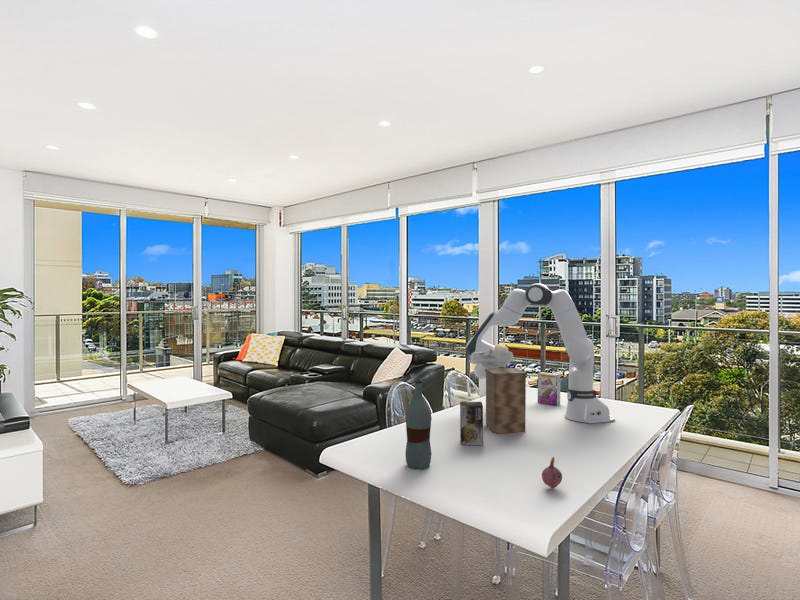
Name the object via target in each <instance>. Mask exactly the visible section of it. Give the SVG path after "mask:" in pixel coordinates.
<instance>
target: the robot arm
mask: <svg viewBox="0 0 800 600" xmlns="http://www.w3.org/2000/svg"><path fill="white" fill-rule="evenodd" d="M530 305H533V306H536V307H542V306H548V307H549V308H550V311H551V312H552V315H553V317H554V320H555V322H556V325H557V327H558V330H559V332H560V336H561V339H562V341H563V344H564V347H565V350H566V353H567V356H568V357H569V366H568V378H567V379H568V387H567V392H566V393H567V394H566V395H567V396H566V397H567V405H566V410H565V414H564V418H565V419H567V420H569V421H570V420H571V421H574V422H581V423H585V424H597V423H606V422H607V423H609V422H615V421H616V419H615V417H614V416H612V415H611V414H610V409H609V407H608V405H607V404H605V403H604V402H603V401H602V400H600V399H599V398H598V397H599V396H601V394H602V392H600V391H599V390H595V389H594V364H595V363H594V362H595V344H594V343H593V341H592V340H591V338H589V337H588V334H587V332H586V329H585V327H584V323H583V320H582V318H581V316H580V313H579V311H578V310H577V307H576V305H575V303H574V301H573V299H572V297H571V296H570V294H569V293H568V291H567V290H564V289H557V290H551V289H550V287H548V286H547V285H545V284H543V283H532V284H531V285H529V286H528V287H527V288H526V290H524V289H520V288H514V289H512V290H511V291H510V293H509V294H508V295H507V297H506V298H505V300H504V302H503V304H502V305H501V307H500V308H499V309H498V310H496V311H492V312H491V313H490V314H489V315H488V316H487V317H486V319H485V320H484V322H483V323H482V324H481V325H480V327H479V328H478V329H477V331H476V332H475V334H474V335H473V336H472V337H471V338H470V339H469V340H468V342H467V343H466V345H465V351H466V353H467V355H468V356H470V358H469V359H468V363H471V364H473V365H475V366H474V369H473V374H474V376H475V377H477V378H478V379H481V380H484V379H485V380H486V371H485V369H491V368H507V366H508V365H509V364H510V363H511V362H512V361H513V360H514V354H513V352H512V351H509V352H510V359H498V358H496V357H494V356H491V353H492V352H491V350H489V348H495V346H496V345H493V344H491V343H489V342H487V341H485V340H483V339H482V338H483V337H484V336H485V334H486V333H487V331H488V330H489V329H490V328H491V327H493V326H504V327H505V326H506V327H509V326H510V327H511V326H514V325H516V324H518V322H519V321H520V319H521V318H522V316H523V314H524V313H525V310H526V309H527V307H528V306H530ZM597 396H598V397H597Z"/></svg>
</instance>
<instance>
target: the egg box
mask: <svg viewBox="0 0 800 600" xmlns="http://www.w3.org/2000/svg"><path fill="white" fill-rule="evenodd" d="M494 346H495V348H489V350H491V352H492V353H491V356H494V357H496V358H498V359H510V352H511V351H509V348H508V346H507V345H503V344H500V343H497V344H496V345H494Z"/></svg>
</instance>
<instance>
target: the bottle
mask: <svg viewBox="0 0 800 600" xmlns="http://www.w3.org/2000/svg"><path fill="white" fill-rule="evenodd" d="M404 418H405V427H406V429H405V430H406V445H405V462H406V466H407V467H408V468H409V469H411V468H412V469H411V470H417V469H421V470H426V469H428V468H429V467H430V465H431V462H432V447H431V441H430V440H431V428H432V427H431V426H432V411H431V408H430V406H429V404H428V402H427V401H426V399H425V398H424V396H423V380H422V379H415V380H414V396H413V398H411V401H410V402H409V404H408V405H407V407H406V412H405V417H404ZM427 467H428V468H427ZM425 468H426V469H425Z"/></svg>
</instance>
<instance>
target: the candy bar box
mask: <svg viewBox="0 0 800 600" xmlns="http://www.w3.org/2000/svg"><path fill="white" fill-rule="evenodd" d="M561 377H562V376H561V374H559V373H551V372H545V371H544V372H543V371H541V372H538V373H537V403H539V402H540V403H541V404H545V403H546V405H551V404H552V405H553V406H559V405H561ZM558 404H559V405H558ZM552 405H551V406H552Z"/></svg>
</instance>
